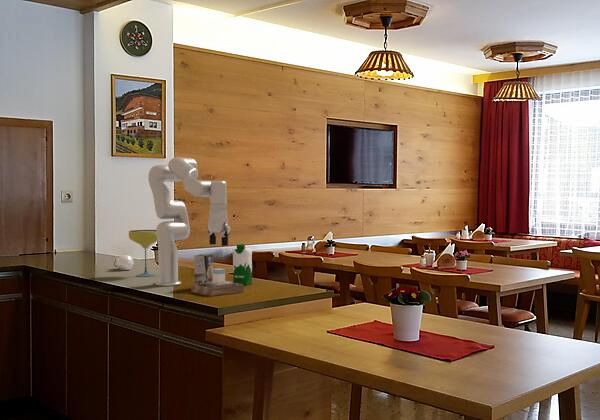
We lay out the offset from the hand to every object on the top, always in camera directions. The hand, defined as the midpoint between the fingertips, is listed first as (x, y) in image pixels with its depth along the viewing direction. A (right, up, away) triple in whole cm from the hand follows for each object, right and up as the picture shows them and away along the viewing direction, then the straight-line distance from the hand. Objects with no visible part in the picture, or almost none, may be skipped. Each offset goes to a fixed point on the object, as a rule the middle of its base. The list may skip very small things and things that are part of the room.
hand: (218, 244), depth 309 cm
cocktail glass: (-48, -21, +63) cm, 82 cm away
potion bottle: (-68, -20, +92) cm, 117 cm away
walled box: (0, -22, 0) cm, 22 cm away
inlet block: (0, -22, 0) cm, 22 cm away
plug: (0, -21, +1) cm, 21 cm away
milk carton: (+9, -21, +25) cm, 34 cm away
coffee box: (-9, -22, +14) cm, 27 cm away
